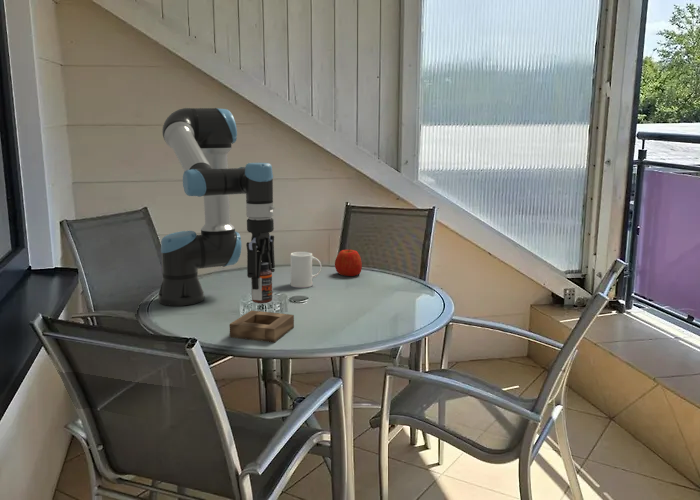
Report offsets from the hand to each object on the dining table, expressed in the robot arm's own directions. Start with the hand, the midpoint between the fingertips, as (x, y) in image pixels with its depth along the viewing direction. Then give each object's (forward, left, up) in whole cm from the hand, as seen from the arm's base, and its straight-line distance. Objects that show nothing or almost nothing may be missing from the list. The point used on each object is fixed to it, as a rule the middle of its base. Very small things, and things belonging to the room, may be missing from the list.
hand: (262, 296), depth 188 cm
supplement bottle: (0, 0, -2) cm, 2 cm away
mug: (-8, +55, -11) cm, 57 cm away
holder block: (0, 0, -11) cm, 11 cm away
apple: (+2, +76, -11) cm, 77 cm away
